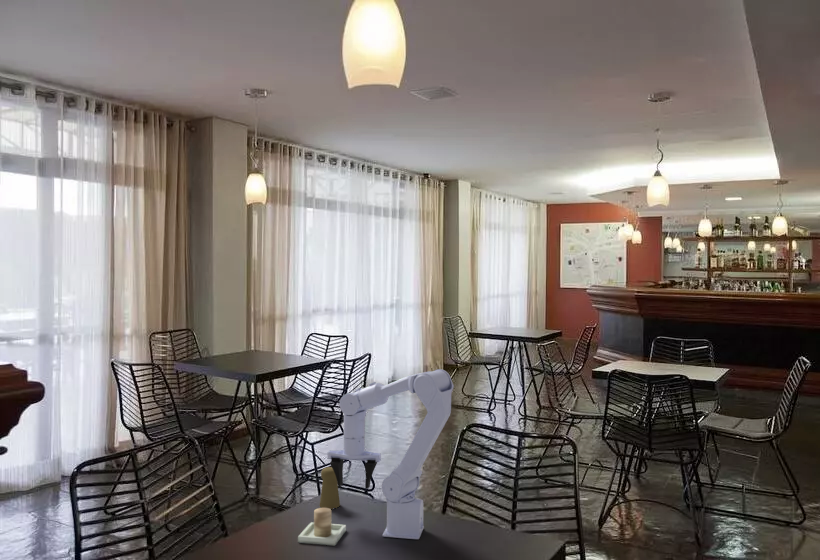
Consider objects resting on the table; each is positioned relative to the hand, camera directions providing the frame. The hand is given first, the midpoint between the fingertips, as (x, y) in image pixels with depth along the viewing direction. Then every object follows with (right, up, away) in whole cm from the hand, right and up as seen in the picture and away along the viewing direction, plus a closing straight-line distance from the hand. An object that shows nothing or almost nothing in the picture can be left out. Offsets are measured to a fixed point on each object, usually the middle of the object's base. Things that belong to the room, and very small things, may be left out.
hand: (353, 486), depth 172 cm
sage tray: (-7, -9, -10) cm, 16 cm away
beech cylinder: (-7, -9, -10) cm, 15 cm away
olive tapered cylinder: (-8, -10, +12) cm, 17 cm away
